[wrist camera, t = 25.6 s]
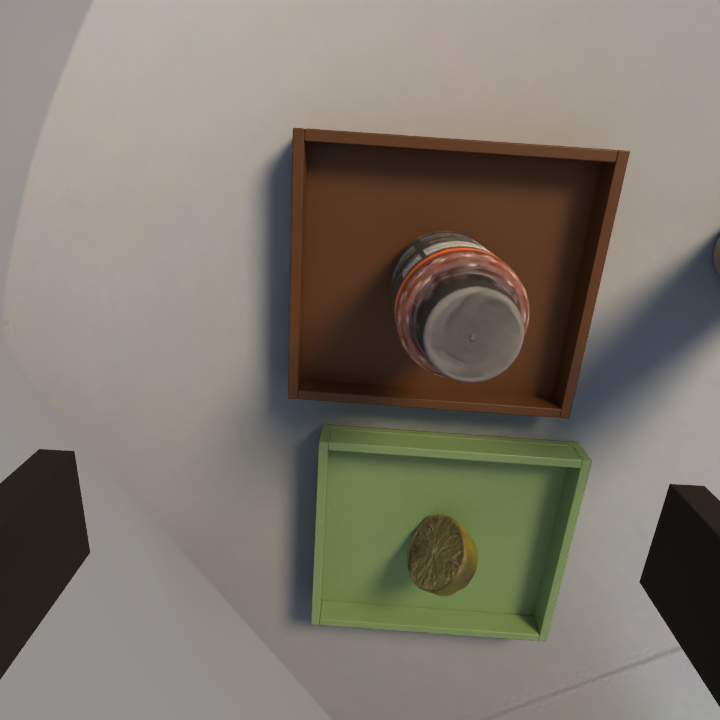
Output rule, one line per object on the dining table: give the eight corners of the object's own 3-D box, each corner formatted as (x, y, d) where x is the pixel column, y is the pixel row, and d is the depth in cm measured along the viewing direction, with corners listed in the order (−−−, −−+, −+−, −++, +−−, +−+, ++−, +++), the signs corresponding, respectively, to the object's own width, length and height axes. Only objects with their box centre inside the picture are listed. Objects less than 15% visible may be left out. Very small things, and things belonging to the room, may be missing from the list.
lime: (403, 556, 38) (407, 611, 34) (411, 500, 37) (417, 550, 32) (465, 561, 38) (477, 617, 34) (475, 506, 37) (490, 556, 32)
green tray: (314, 599, 41) (310, 624, 39) (322, 423, 36) (318, 441, 33) (537, 615, 41) (546, 642, 39) (578, 442, 35) (592, 461, 33)
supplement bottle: (475, 336, 32) (523, 421, 22) (380, 317, 32) (382, 393, 22) (503, 239, 30) (572, 280, 20) (402, 218, 30) (416, 248, 19)
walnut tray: (293, 383, 35) (287, 398, 32) (299, 130, 29) (292, 127, 27) (556, 402, 34) (569, 418, 32) (610, 151, 29) (630, 150, 27)
